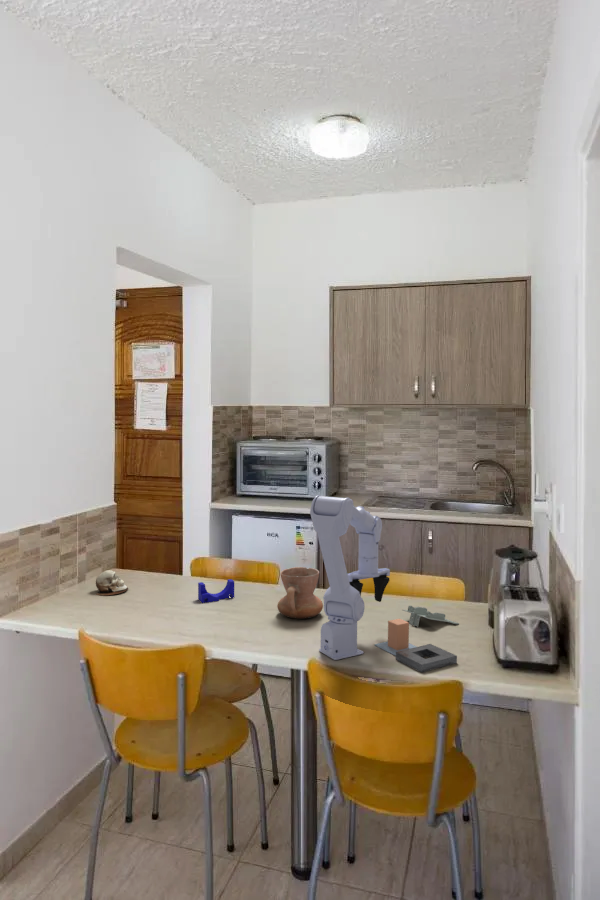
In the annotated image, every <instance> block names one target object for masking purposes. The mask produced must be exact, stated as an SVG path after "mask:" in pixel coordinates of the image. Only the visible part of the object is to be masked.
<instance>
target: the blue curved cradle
mask: <svg viewBox="0 0 600 900" xmlns="http://www.w3.org/2000/svg"><path fill="white" fill-rule="evenodd" d="M226 581H227V582H226V584H225V586H224V588H223V589H222V590H221V591H220V592H217V593H211V592H208V591H207V588H206V584H205V583H204V582H202V581H201V582H197V593H198V594H197V595H198V596H197V600H198V599H199V600H200V601H201V602H202V604H205V602H206V603H213V601H214V602H219V601H220V600H226V599H225V598H228V599H234V598H235V580H233V579H232V578H231V579H227V580H226ZM229 596H230V597H231V598H229ZM233 597H234V598H233ZM219 599H220V600H219ZM199 600H198V601H199ZM200 601H199V602H200ZM201 602H200V603H201Z"/></svg>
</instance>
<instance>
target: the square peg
mask: <svg viewBox="0 0 600 900" xmlns="http://www.w3.org/2000/svg"><path fill="white" fill-rule="evenodd" d="M387 625H388V626H387V641H388V646H389V647H391V648H393V649H395V650H401V649H405V648H409V643H410V642H409V641H410V640H409V637H410V635H409V634H410V625H409V621H406V620H404V619H402V618H395V619H391V620H388V621H387Z"/></svg>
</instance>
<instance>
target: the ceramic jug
mask: <svg viewBox="0 0 600 900" xmlns="http://www.w3.org/2000/svg"><path fill="white" fill-rule="evenodd" d="M279 574H280V578H281V582H282V585H283V588H284V589H285V592H286V595H285V596H283V597H282V598H280V599H279V600H278V602H277V604H276V607H277V611H278V612H279V613H280V614H281V615H283V616H285V617H287V618H291V619H297V620H302V619H305V620H306V619H310V618H314V617H316V616H318V615H319V614H320V613H321V612H322V610H324V602H323V601H322V600H321V598H319V597H318V596H316V595H315V594H314V592H315V590H316V587H317V585H318V581H319V577H320V571H319V570H318V569H316V568H313V567H308V568H307V567H305V566H295V567H294V566H293V567H290V568H289V567H288V568H285V569H283V570H281V571H280V572H279Z"/></svg>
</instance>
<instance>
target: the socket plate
mask: <svg viewBox="0 0 600 900" xmlns="http://www.w3.org/2000/svg"><path fill="white" fill-rule="evenodd" d="M425 657H428V658H425ZM395 660H396V661H398V662H400V663H402V664H404V665H406V666H408V667H410V668H412V669H414V670H416V671H417V672H420V673H421V674H422V673H426V672H429V671H432V670H433V671H434V670H436V669H441V668H444V667H448V666H451V665H455V664H458V663H457V662H458V655H456V654H454V653H452V652H451V651H450V652H449V651H447V650H445V649H443V648H441V647H439V646H436V645H434V644H432V643H429V644H424V645H419V646H416V647H415V648H410V649H406V650H402V651H398V652H396V656H395Z"/></svg>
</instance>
